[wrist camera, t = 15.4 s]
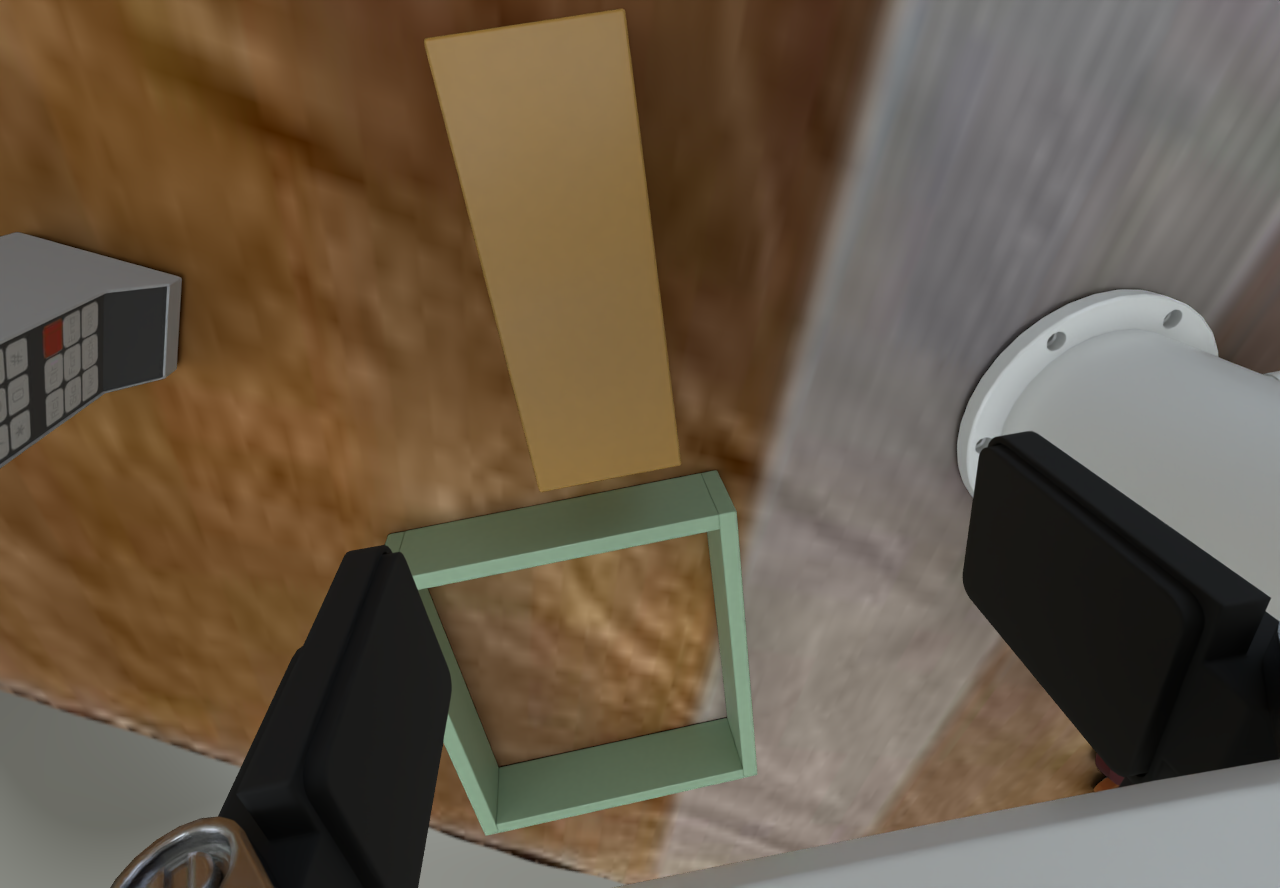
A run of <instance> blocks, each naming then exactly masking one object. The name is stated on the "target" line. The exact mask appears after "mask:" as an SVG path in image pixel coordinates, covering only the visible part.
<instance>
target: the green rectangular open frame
mask: <svg viewBox="0 0 1280 888" xmlns="http://www.w3.org/2000/svg"><path fill="white" fill-rule="evenodd" d="M704 532H707V535H708V544H709V553H710V562H711V572H712V581H713V590H714V599H715V608H716V618H717V627H718V636H719V645H720V654H721V664H722V673H723V682H724V691H725V700H726V710H727V718H724V719H719V720H715V721H710V722H706V723H701V724H697V725H692V726H687V727H683V728H678V729H674V730H669V731H665V732H660V733H655V734H651V735H646V736H642V737H637V738H632V739H628V740H623V741H619V742H614V743H610V744H605V745H600V746H596V747H591V748H587V749H582V750H578V751H573V752H568V753H564V754H559V755H555V756H550V757H546V758H541V759H536V760H532V761H527V762H523V763H518V764H514V765H509V766H504V767H500V768H499V767H498V765H497V762H496V760H495V757H494V755H493V752H492V750H491V747H490V745H489V742H488V740H487V737H486V735H485V732H484V729H483V727H482V724H481V722H480V719H479V717H478V714H477V712H476V709H475V707H474V704H473V702H472V699H471V697H470V694H469V692H468V689H467V687H466V684H465V682H464V679H463V677H462V674H461V672H460V669H459V667H458V664H457V662H456V659H455V656H454V654H453V651H452V649H451V646H450V644H449V641H448V639H447V636H446V634H445V631H444V629H443V626H442V624H441V621H440V619H439V616H438V614H437V611H436V609H435V606H434V604H433V601H432V599H431V596H430V594H429V591H428V589H427V588H431V587H436V586H441V585H446V584H451V583H456V582H461V581H466V580H470V579H475V578H480V577H485V576H490V575H495V574H500V573H505V572H510V571H515V570H520V569H525V568H530V567H535V566H540V565H545V564H550V563H555V562H560V561H565V560H570V559H575V558H580V557H585V556H590V555H594V554H599V553H604V552H609V551H614V550H619V549H624V548H629V547H634V546H639V545H644V544H649V543H654V542H659V541H664V540H669V539H674V538H679V537H684V536H689V535H694V534H699V533H704ZM385 545H386V546H388V547H389V548H390V549H391V551H392V553H395V552H401V553H402V554H403V555H404V557H405V559H406V561H407V564H408V566H409V569H410V571H411V574H412V576H413V579H414V581H415V584H416V587H417V589H418V592H419V594H420V597H421V599H422V602H423V604H424V607H425V609H426V612H427V615H428V617H429V620H430V622H431V625H432V627H433V630H434V632H435V635H436V638H437V640H438V643H439V645H440V648H441V650H442V653H443V655H444V658H445V660H446V663H447V666H448V668H449V671H450V675H451V682H452V693H451V700H450V706H449V712H448V717H447V723H446V729H445V735H444V740H443V742H444V745H445V747H446V749H447V751H448V753H449V756H450V758H451V760H452V762H453V764H454V767H455V769H456V771H457V773H458V776H459V778H460V780H461V782H462V784H463V787H464V789H465V791H466V793H467V796H468V798H469V800H470V802H471V804H472V807H473V809H474V811H475V813H476V815H477V818H478V820H479V822H480V824H481V827H482V829H483V831H484V833H485V835H491V834H495V833H499V832H505V831H509V830H514V829H518V828H523V827H527V826H532V825H536V824H541V823H545V822H549V821H554V820H558V819H563V818H567V817H572V816H576V815H581V814H585V813H590V812H594V811H598V810H603V809H607V808H612V807H616V806H621V805H625V804H630V803H634V802H639V801H643V800H648V799H652V798H656V797H661V796H665V795H670V794H674V793H679V792H683V791H688V790H692V789H697V788H701V787H706V786H710V785H714V784H719V783H723V782H728V781H732V780H737V779H741V778H744V777H750V776H754V775H757V764H756V751H755V738H754V726H753V713H752V700H751V688H750V675H749V663H748V650H747V637H746V625H745V612H744V599H743V587H742V574H741V561H740V549H739V536H738V524H737V511H736V509H735V507H734V505H733V503H732V501H731V499H730V497H729V495H728V493H727V491H726V488H725V486H724V484H723V482H722V480H721V478H720V476H719V474H718V472H717V470H715V471H710V472H705V473H701V474H700V473H699V474H694V475H689V476H684V477H679V478H673V479H668V480H663V481H658V482H653V483H648V484H643V485H638V486H633V487H628V488H622V489H617V490H612V491H607V492H602V493H597V494H592V495H587V496H582V497H577V498H572V499H566V500H561V501H556V502H551V503H546V504H541V505H536V506H531V507H526V508H521V509H515V510H510V511H505V512H500V513H495V514H490V515H485V516H480V517H475V518H470V519H465V520H459V521H454V522H449V523H444V524H439V525H434V526H429V527H424V528H419V529H414V530H409V531H405V532H399V533H394V534H389V535H388V537H387V540H386V543H385Z"/></svg>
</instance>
